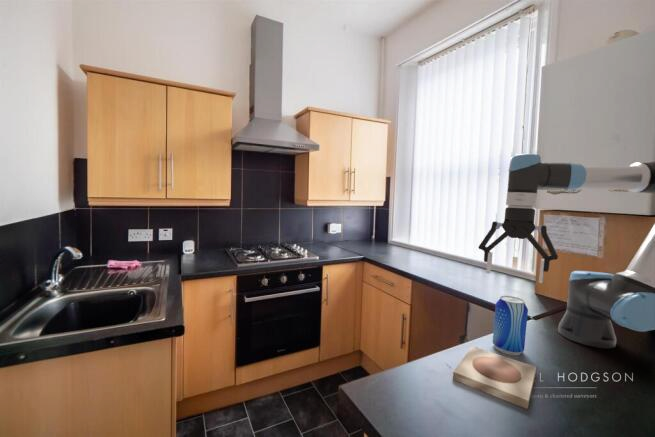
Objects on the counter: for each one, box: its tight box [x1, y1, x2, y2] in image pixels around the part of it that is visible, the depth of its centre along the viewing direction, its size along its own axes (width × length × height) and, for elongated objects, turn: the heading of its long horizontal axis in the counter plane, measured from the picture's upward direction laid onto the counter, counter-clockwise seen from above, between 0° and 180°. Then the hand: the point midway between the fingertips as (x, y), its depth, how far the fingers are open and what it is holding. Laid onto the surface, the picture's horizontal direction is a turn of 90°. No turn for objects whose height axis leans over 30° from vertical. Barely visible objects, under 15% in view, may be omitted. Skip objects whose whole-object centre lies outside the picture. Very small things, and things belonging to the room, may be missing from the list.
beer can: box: [492, 295, 529, 356], centre depth 93 cm, size 8×8×16 cm
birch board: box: [452, 345, 537, 410], centre depth 79 cm, size 16×18×2 cm
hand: (513, 277), depth 92 cm, fingers open, 13 cm apart
